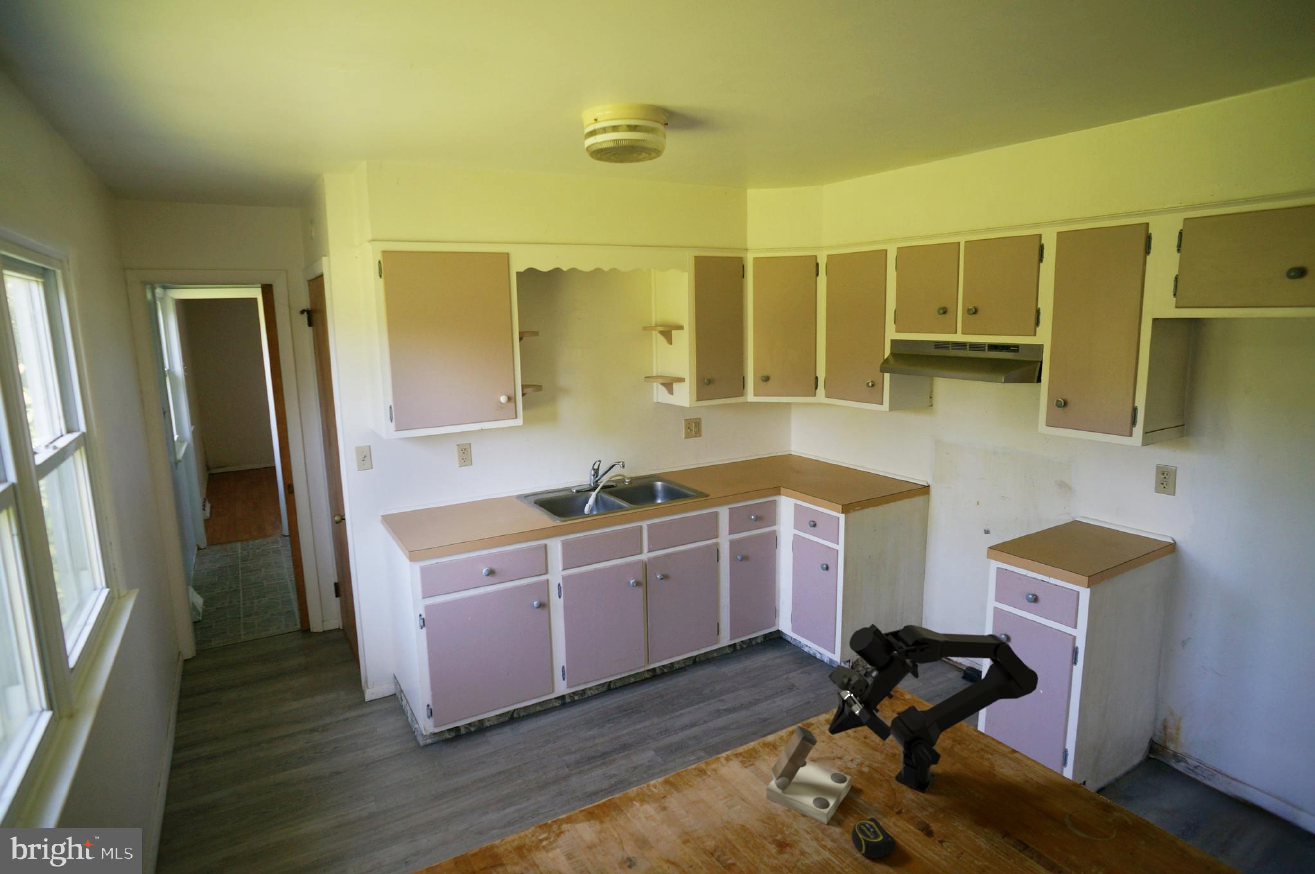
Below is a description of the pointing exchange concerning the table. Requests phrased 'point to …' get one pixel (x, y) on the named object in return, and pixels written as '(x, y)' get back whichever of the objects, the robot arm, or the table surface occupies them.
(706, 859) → the table surface
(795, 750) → the folding leg
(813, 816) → the stool seat
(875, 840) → the tape measure
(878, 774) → the table surface
